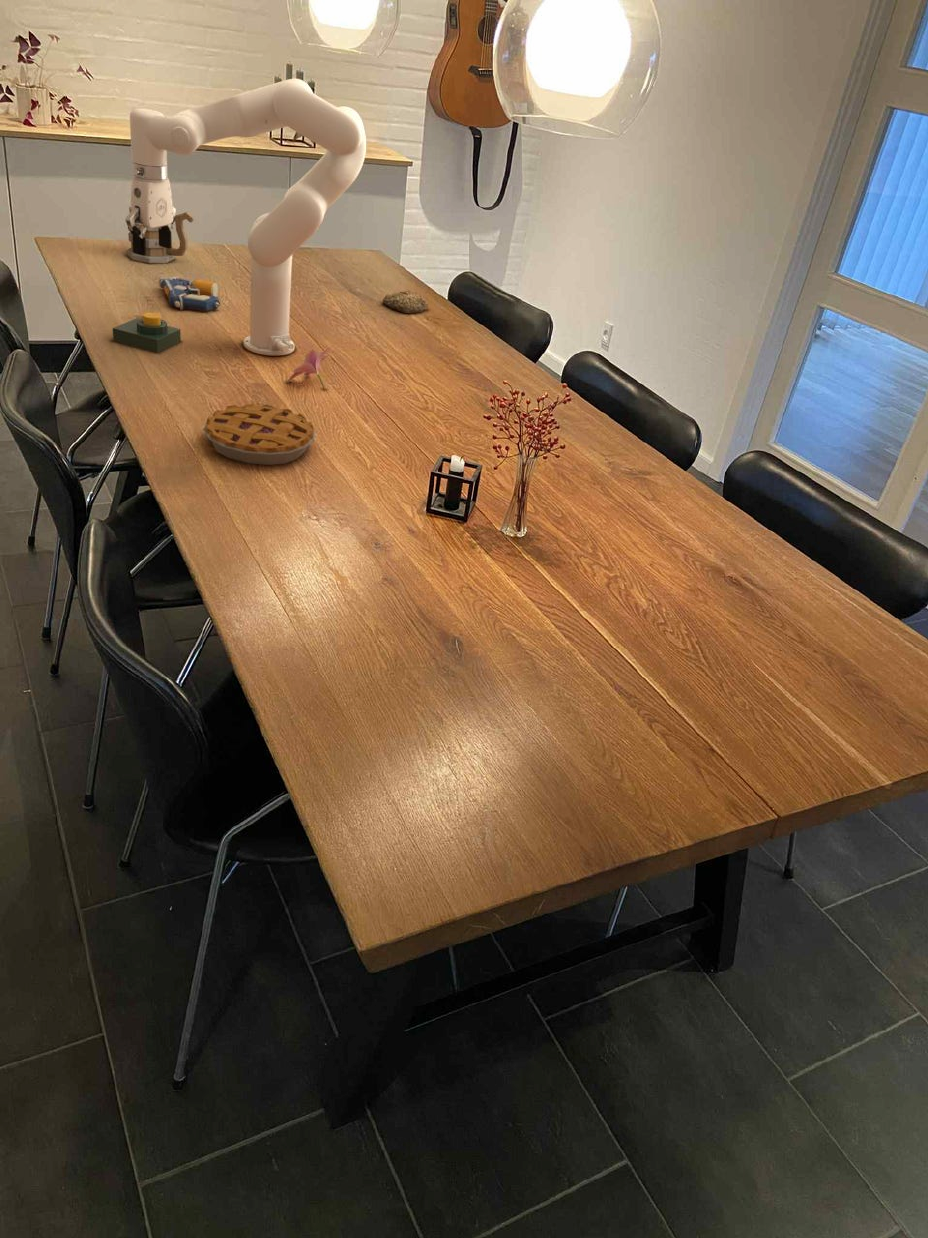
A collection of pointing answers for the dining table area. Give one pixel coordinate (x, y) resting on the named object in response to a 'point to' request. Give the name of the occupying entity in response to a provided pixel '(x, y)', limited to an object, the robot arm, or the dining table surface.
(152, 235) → the tankard
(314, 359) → the lily
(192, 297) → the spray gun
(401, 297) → the bread roll
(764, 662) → the dining table surface
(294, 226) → the robot arm
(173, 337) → the button block
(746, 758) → the dining table surface
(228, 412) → the pie
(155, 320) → the yellow push button
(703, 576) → the dining table surface
